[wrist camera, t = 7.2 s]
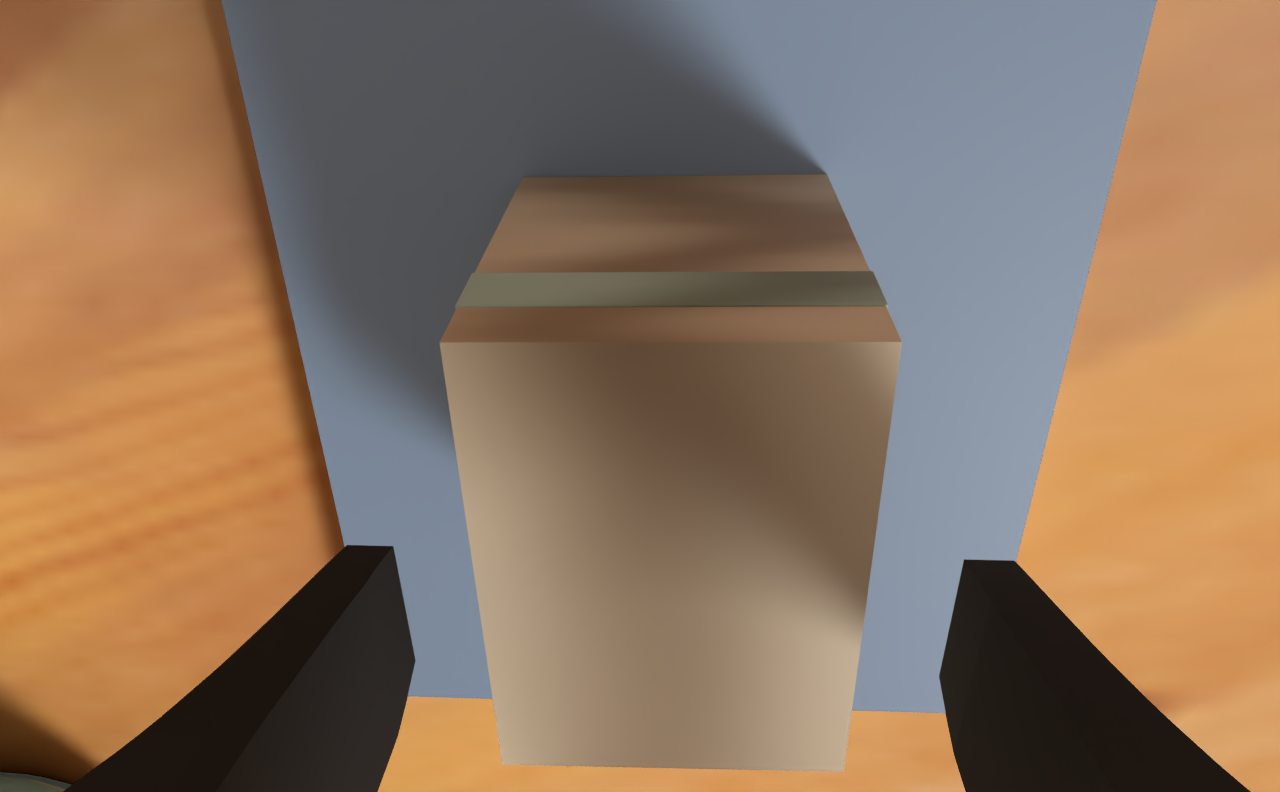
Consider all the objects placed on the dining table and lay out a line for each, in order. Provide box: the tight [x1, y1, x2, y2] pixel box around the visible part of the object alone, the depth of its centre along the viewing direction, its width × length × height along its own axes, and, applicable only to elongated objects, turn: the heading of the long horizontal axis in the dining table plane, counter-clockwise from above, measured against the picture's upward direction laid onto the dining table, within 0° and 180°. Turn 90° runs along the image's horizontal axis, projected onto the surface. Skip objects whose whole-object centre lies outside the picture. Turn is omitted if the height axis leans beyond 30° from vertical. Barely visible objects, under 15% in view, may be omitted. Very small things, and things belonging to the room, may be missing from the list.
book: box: [221, 0, 1157, 713], centre depth 18 cm, size 14×18×2 cm
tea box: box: [439, 174, 902, 772], centre depth 14 cm, size 5×7×6 cm
